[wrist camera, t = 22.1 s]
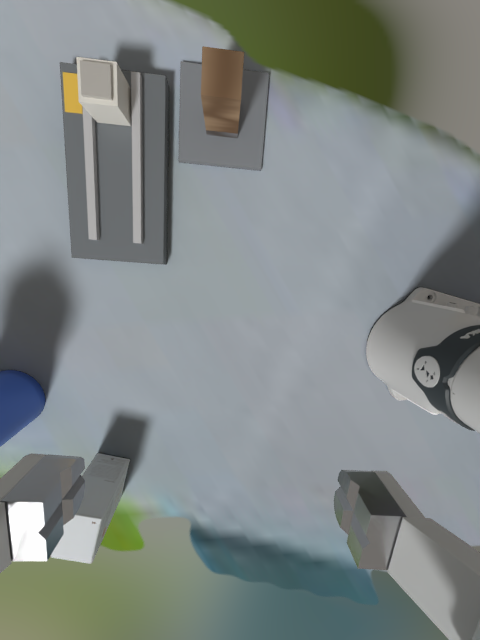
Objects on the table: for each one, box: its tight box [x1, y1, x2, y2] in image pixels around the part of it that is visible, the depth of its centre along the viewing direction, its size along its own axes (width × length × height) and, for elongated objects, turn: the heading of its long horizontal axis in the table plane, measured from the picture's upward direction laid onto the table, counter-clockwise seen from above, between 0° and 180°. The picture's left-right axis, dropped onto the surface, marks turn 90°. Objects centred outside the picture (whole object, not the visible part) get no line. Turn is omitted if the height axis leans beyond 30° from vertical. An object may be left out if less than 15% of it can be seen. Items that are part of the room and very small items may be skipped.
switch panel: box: [60, 62, 169, 264], centre depth 33 cm, size 12×22×3 cm, turn 176°
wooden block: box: [201, 47, 244, 138], centre depth 29 cm, size 4×4×8 cm
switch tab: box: [77, 57, 131, 126], centre depth 28 cm, size 4×4×4 cm
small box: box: [51, 453, 130, 563], centre depth 39 cm, size 8×6×10 cm
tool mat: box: [179, 61, 269, 171], centre depth 33 cm, size 11×11×1 cm
